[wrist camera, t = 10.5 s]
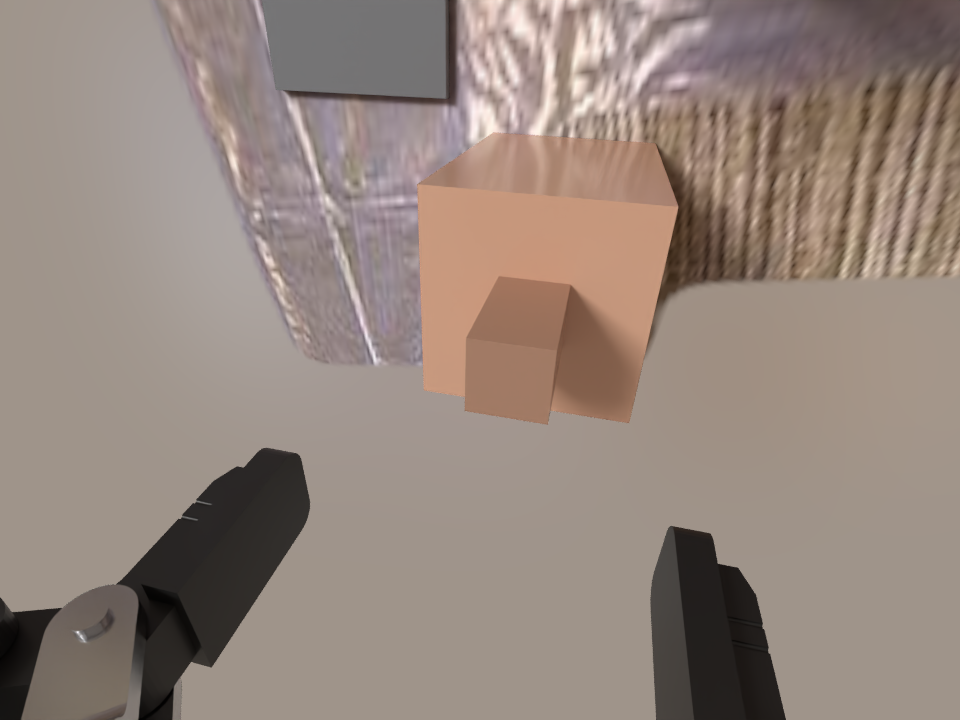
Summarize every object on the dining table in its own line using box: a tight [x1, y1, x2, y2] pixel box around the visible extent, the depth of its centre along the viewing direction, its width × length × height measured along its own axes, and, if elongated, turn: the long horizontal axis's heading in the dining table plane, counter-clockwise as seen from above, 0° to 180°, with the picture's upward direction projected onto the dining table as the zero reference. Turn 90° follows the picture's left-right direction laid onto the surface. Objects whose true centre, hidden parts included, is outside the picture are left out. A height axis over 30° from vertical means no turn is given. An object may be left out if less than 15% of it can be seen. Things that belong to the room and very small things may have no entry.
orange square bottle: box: [417, 133, 678, 424], centre depth 23 cm, size 9×9×18 cm
